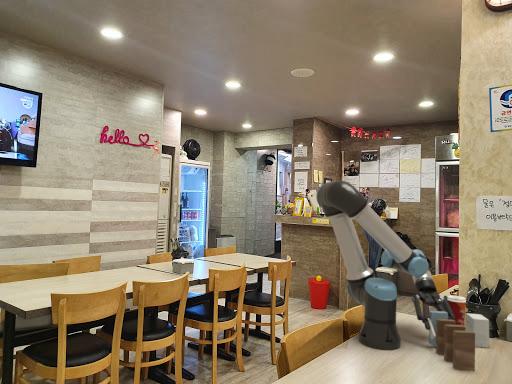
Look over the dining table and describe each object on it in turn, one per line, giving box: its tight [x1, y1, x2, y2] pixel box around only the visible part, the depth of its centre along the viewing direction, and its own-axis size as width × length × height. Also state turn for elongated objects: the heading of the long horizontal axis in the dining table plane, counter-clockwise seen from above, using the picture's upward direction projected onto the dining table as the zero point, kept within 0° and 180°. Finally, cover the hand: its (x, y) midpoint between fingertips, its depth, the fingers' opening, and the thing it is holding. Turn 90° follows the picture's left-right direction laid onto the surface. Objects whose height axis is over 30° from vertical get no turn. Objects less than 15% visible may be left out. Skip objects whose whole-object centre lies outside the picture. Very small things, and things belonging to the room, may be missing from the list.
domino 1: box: [435, 319, 456, 356], centre depth 133 cm, size 2×6×12 cm, turn 89°
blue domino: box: [428, 310, 448, 346], centre depth 139 cm, size 2×6×12 cm, turn 89°
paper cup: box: [447, 294, 467, 327], centre depth 160 cm, size 8×8×14 cm
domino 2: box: [443, 325, 466, 363], centre depth 127 cm, size 2×6×12 cm, turn 88°
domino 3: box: [452, 330, 476, 372], centre depth 121 cm, size 2×6×12 cm, turn 89°
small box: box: [465, 312, 490, 349], centre depth 144 cm, size 8×6×10 cm
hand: (442, 337), depth 135 cm, fingers closed on blue domino, 6 cm apart
